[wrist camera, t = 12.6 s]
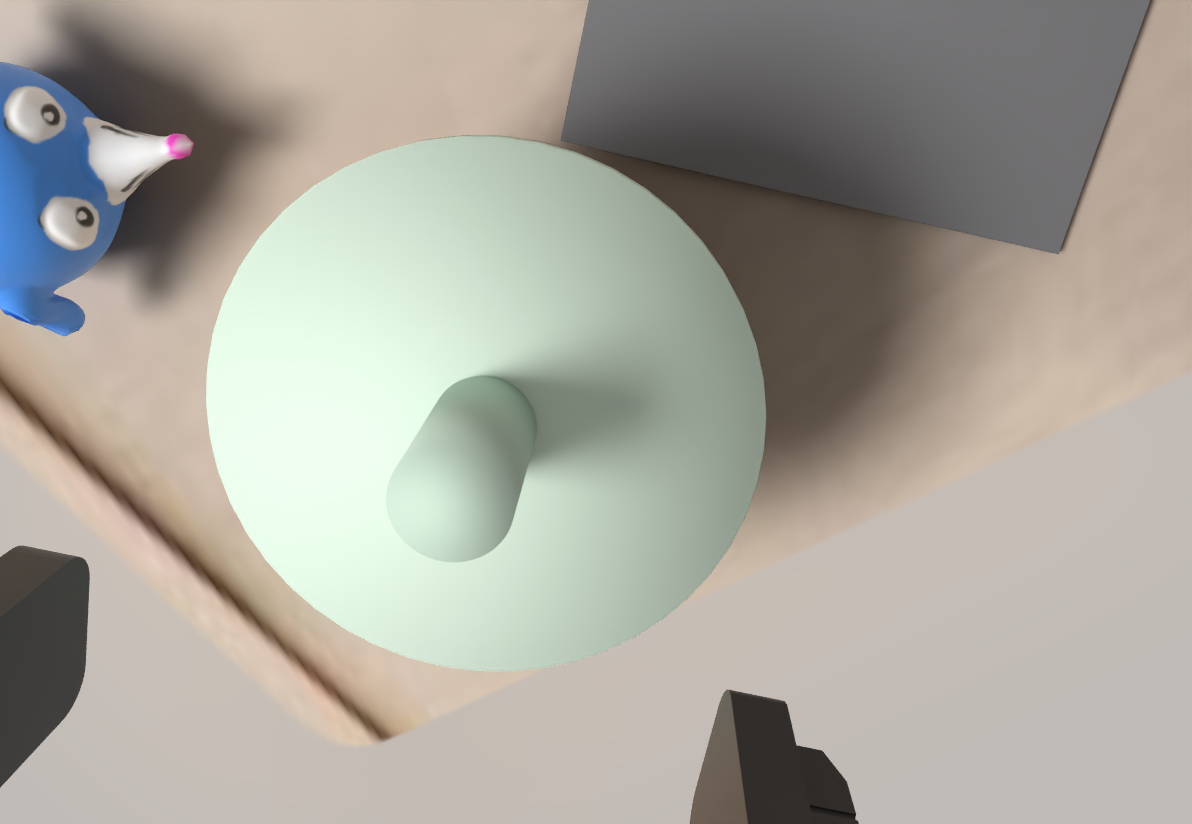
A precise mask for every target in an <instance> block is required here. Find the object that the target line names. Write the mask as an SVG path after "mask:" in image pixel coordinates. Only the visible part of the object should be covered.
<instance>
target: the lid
mask: <svg viewBox="0 0 1192 824" xmlns="http://www.w3.org/2000/svg"><path fill="white" fill-rule="evenodd" d="M206 406H207V415H208V425H209V434H210V440H211V444H212V448H213V452H214V456H215V460H216V464H217V468H218V472H219V474H220V477H221V480H222V482H223V485H224V487H225V490H226V492H227V495H228V498H229V500H230V503H231V505H232V507H233V508H234V510H235V512H236V514H237V516H238V518H239V519H240V521H241V523H242V525H243V527H244V529H245V531H246V532H247V534H248V535H249V537H250V538H251V540H252V541H253V542H254V544H255V545H256V547H257V548H258V550H259V551H260V552H261V554H262V555H263V557H264V558H265V559H266V561H267V562H268V563H269V564H270V565H271V566H272V568H273V569H274V570H275V571H276V572H277V573H278V574H279V575H280V576H281V577H282V579H283V580H284V581H285V582H286V583H287V584H288V585H289V586H290V587H291V588H292V589H293V590H294V591H295V592H297V593H298V594H299V595H300V596H301V597H302V598H303V599H305V600H306V601H307V602H308V603H309V604H310V605H312V606H313V607H314V608H315V609H316V610H318V611H319V612H321V613H322V614H323V615H325V616H326V617H328V618H329V619H331V620H332V621H334V622H335V623H337V624H338V625H340V626H341V627H343V628H344V629H346V630H348V631H350V632H351V633H353V634H355V635H357V636H359V637H361V638H363V639H365V640H367V641H369V642H370V643H372V644H374V645H377V646H379V647H382V648H384V649H387V650H389V651H392V652H395V653H397V654H400V655H402V656H405V657H408V658H412V659H415V660H419V661H423V662H427V663H431V664H434V665H438V666H444V667H451V668H458V669H465V670H472V671H500V672H509V671H521V670H533V669H542V668H547V667H552V666H556V665H561V664H566V663H571V662H575V661H578V660H580V659H584V658H587V657H589V656H593V655H596V654H599V653H602V652H605V651H607V650H609V649H611V648H613V647H615V646H617V645H619V644H621V643H623V642H626V641H628V640H630V639H632V638H634V637H636V636H637V635H639V634H640V633H642V632H644V631H645V630H647V629H648V628H650V627H651V626H653V625H655V624H656V623H658V622H659V621H661V620H662V619H664V618H665V617H666V616H667V615H668V614H670V613H671V612H672V611H673V610H674V609H676V608H677V607H678V606H679V605H680V604H682V603H683V602H684V601H685V600H686V599H688V598H689V597H690V596H691V594H692V593H693V592H694V591H695V590H696V589H697V588H698V587H699V586H700V585H701V584H702V583H703V581H704V580H705V579H706V578H707V577H708V576H709V575H710V574H711V573H712V571H713V570H714V568H715V567H716V565H717V564H718V563H719V561H720V560H721V558H722V557H723V555H724V554H725V553H726V551H727V550H728V548H729V547H730V545H731V543H732V541H733V539H734V538H735V536H736V534H737V532H738V530H739V528H740V526H741V524H742V522H743V520H744V518H745V516H746V514H747V511H748V508H749V505H750V502H751V500H752V497H753V494H754V491H755V488H756V486H757V482H758V477H759V472H760V467H761V463H762V458H763V453H764V443H765V429H766V403H765V389H764V378H763V374H762V369H761V364H760V360H759V355H758V350H757V345H756V342H755V340H754V337H753V334H752V331H751V328H750V326H749V323H748V320H747V317H746V315H745V312H744V309H743V307H742V305H741V303H740V301H739V299H738V298H737V296H736V294H735V292H734V290H733V288H732V286H731V284H730V282H729V280H728V278H727V277H726V275H725V273H724V271H723V269H722V268H721V267H720V265H719V264H718V262H717V261H716V260H715V258H714V257H713V255H712V254H711V252H710V251H709V250H708V248H707V247H706V245H705V244H704V243H703V241H702V240H701V239H700V238H699V237H698V236H697V235H696V233H695V232H694V231H693V230H692V229H691V228H690V227H689V226H688V225H687V224H686V223H685V222H684V221H683V220H682V219H681V217H680V216H679V215H678V214H677V213H676V212H675V211H673V210H672V209H671V208H670V207H668V206H667V205H666V204H665V203H664V202H662V201H661V200H660V199H659V198H657V197H656V196H655V195H654V194H653V193H651V192H650V191H649V190H648V189H646V188H645V187H643V186H642V185H640V184H638V183H637V182H635V181H633V180H632V179H630V178H629V177H627V176H625V175H624V174H622V173H620V172H619V171H617V170H616V169H614V168H612V167H610V166H607V165H605V164H603V163H601V162H598V161H596V160H594V159H592V158H589V157H587V156H585V155H583V154H580V153H578V152H575V151H571V150H568V149H564V148H561V147H558V146H554V145H551V144H547V143H544V142H540V141H533V140H527V139H520V138H514V137H507V136H483V135H462V136H453V137H445V138H437V139H429V140H423V141H419V142H415V143H412V144H408V145H404V146H400V147H397V148H393V149H389V150H385V151H382V152H379V153H377V154H374V155H372V156H370V157H367V158H365V159H363V160H360V161H358V162H355V163H353V164H351V165H348V166H346V167H344V168H343V169H341V170H339V171H338V172H336V173H334V174H333V175H331V176H329V177H328V178H326V179H324V180H323V181H321V182H319V183H318V184H316V185H314V186H313V187H312V188H310V189H309V190H308V191H307V192H306V193H304V194H303V195H302V196H301V197H299V198H298V199H297V200H296V201H295V202H293V203H292V204H291V205H290V206H289V207H287V208H286V209H285V210H284V211H283V212H282V213H281V214H280V215H279V216H278V217H277V219H276V220H275V221H274V222H273V223H272V224H271V225H270V226H269V227H268V228H267V229H266V231H265V232H264V233H263V234H262V235H261V236H260V237H259V239H258V240H257V242H256V243H255V245H254V246H253V247H252V249H251V250H250V252H249V253H248V255H247V256H246V258H245V259H244V261H243V262H242V264H241V265H240V267H239V269H238V271H237V273H236V275H235V277H234V279H233V281H232V283H231V285H230V287H229V289H228V291H227V293H226V295H225V298H224V300H223V303H222V306H221V309H220V312H219V315H218V319H217V322H216V325H215V328H214V331H213V335H212V341H211V347H210V353H209V359H208V365H207V389H206Z"/></svg>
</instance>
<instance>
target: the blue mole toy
mask: <svg viewBox="0 0 1192 824" xmlns="http://www.w3.org/2000/svg"><path fill="white" fill-rule="evenodd" d="M193 145H194V143H193V142H192V141H191V140H190V139H189V138H188V137H187V136H186V135H184V134H175V133H173V134H171V135H169V136H166V137H163V136H155V135H150V134H145V133H140V132H136V131H131V130H127V129H124V128H121V127H119V126H116V125H114V124H111V123H108V122H105V121H102V120H100V119H99V118H98V117H97V116H96V115H94V114H93V113H92V112H91V111H90V110H89V109H88V108H87V107H86V106H85V105H84V104H83V103H82V102H81V101H80V100H79V99H78V98H76V97H75V96H74V95H72V94H71V93H70V92H69V91H68V90H66V89H65V88H64V87H62V86H61V85H59V84H58V83H56V82H54V81H53V80H51V79H49V78H47V77H45V76H43V75H41V74H39V73H37V72H34V71H32V70H29V69H27V68H24V67H20V66H17V65H13V64H9V63H4V62H0V309H1V310H2V311H3V312H4V313H5V314H7V315H10V316H12V317H14V318H16V319H18V320H21V321H23V322H26V323H29V324H32V325H40V326H42V327H45V328H47V329H49V330H51V331H53V332H55V333H57V334H59V335H61V336H67V335H68V334H71V333H73V332H75V331H78V330H79V329H80V328H81V327H82V326H83V324H84V321H85V314H84V312H83V310H82V309H81V308H80V307H79V306H78V305H77V304H76V303H74V302H73V301H71V300H69V299H67V298H64V297H61V296H58V295H56V294H54V293H53V292H54V291H55V290H56V289H57V288H59V287H61V286H63V285H65V284H67V283H69V282H71V281H73V280H75V279H76V278H78V277H80V276H81V275H83V274H84V273H86V272H87V271H88V270H89V269H90V268H92V267H93V266H94V265H95V264H96V263H97V262H98V261H99V260H100V258H101V257H102V256H103V255H104V254H105V252H106V251H107V249H108V248H109V246H110V244H111V243H112V241H113V239H114V237H115V234H116V232H117V229H118V226H119V224H120V221H121V217H122V213H123V209H124V206H125V202H126V199H127V198H128V197H129V196H130V195H131V194H132V193H133V192H134V191H135V190H136V189H137V187H138V186H139V185H140V184H141V182H142V181H143V180H144V179H146V178H147V177H148V176H149V175H151V174H152V173H153V172H155V171H156V170H157V169H159V168H160V167H161V166H163V165H164V164H165V163H167V162H169V161H171V160H173V159H182V158H185V157H187V156H189V155H191V151H192V148H193Z"/></svg>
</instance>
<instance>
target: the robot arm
mask: <svg viewBox="0 0 1192 824" xmlns="http://www.w3.org/2000/svg"><path fill="white" fill-rule="evenodd" d="M89 580H90V578H89V567H88V564H87V562H86V561H85V560H84V559H83V558H81V557H77V556H72V555H66V554H62V553H57V552H52V551H47V550H42V549H36V548H32V547H27V546H17V547H15V548H13V549H11V550H10V551H8V552H7V553H6V554H4V555H3V556H2V557H0V787H1V786H2V785H3V784H4V783H5V782H6V781H7V780H8V779H9V777H10V776H11V775H12V774H13V773H14V772H15V771H16V770H17V769H18V768H19V767H20V765H22V763H23V762H24V761H25V760H26V759H27V758H28V757H29V756H30V755H31V754H32V753H33V752H34V750H35V749H36V748H37V747H38V746H39V745H40V744H41V743H42V742H43V741H44V740H45V739H46V737H47V736H48V735H49V734H50V733H51V732H52V731H53V730H54V729H55V728H56V727H57V726H58V725H59V724H60V722H61V721H62V720H63V719H64V718H65V717H66V715H67V714H68V713H69V711H70V709H71V708H72V706H73V704H74V702H75V700H76V698H77V696H78V693H79V691H80V688H81V685H82V682H83V678H84V673H85V665H86V644H87V623H88V602H89ZM855 816H856V813H855V809H854V805H853V802H852V799H851V795H850V792H849V788H848V785H847V782H846V780H845V779H844V778H843V776H842V775H841V774H840V773H839V771H838V770H837V769H836V768H835V766H834V765H833V764H832V762H831V761H830V760H829V759H828V757H827V756H826V755H825V754H824V752H823V751H821V750H816V749H812V748H807V747H802V746H797V745H796V742H795V738H794V733H793V729H792V724H791V720H790V716H789V711H788V707H787V704H786V703H785V701H781V700H777V699H772V698H767V697H762V696H757V695H752V694H747V693H742V692H736V691H732V690H726V691H725V692H724V694H723V696H722V698H721V701H720V704H719V707H718V711H717V714H716V718H715V722H714V725H713V729H712V732H711V736H710V740H709V744H708V747H707V751H706V754H705V758H704V762H703V765H702V769H701V772H700V776H699V780H698V783H697V787H696V791H695V795H694V799H693V805H692V810H691V818H690V824H859V823H858V821H857V820H855Z"/></svg>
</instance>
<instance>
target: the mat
mask: <svg viewBox="0 0 1192 824" xmlns="http://www.w3.org/2000/svg"><path fill="white" fill-rule="evenodd" d="M1149 2H1150V0H589V3H588V8H587V13H586V18H585V23H584V28H583V33H582V38H581V43H580V48H579V53H578V58H577V63H576V68H575V73H574V78H573V82H572V87H571V92H570V97H569V102H568V107H567V112H566V117H565V122H564V127H563V132H562V137H561V141H564V142H569V143H573V144H577V145H582V146H586V147H591V148H595V149H599V150H604V151H608V152H613V153H617V154H621V155H626V156H630V157H634V158H639V159H643V160H648V161H652V162H656V163H661V164H665V165H669V166H674V167H678V168H683V169H687V170H691V171H696V172H700V173H705V174H709V175H713V176H718V177H722V178H726V179H731V180H735V181H740V182H744V183H748V184H753V185H757V186H762V187H766V188H770V189H775V190H779V191H783V192H788V193H792V194H797V195H801V196H805V197H810V198H814V199H818V200H823V201H827V202H832V203H836V204H840V205H845V206H849V207H854V208H858V209H862V210H867V211H871V212H875V213H880V214H884V215H889V216H893V217H897V218H902V219H906V220H910V221H915V222H919V223H924V224H928V225H932V226H937V227H941V228H946V229H950V230H954V231H959V232H963V233H967V234H972V235H976V236H981V237H985V238H989V239H994V240H998V241H1003V242H1007V243H1011V244H1016V245H1020V246H1024V247H1029V248H1033V249H1038V250H1042V251H1046V252H1051V253H1055V254H1059V251H1060V248H1061V246H1062V243H1063V240H1064V237H1065V235H1066V232H1067V229H1068V226H1069V224H1070V221H1071V218H1072V215H1073V213H1074V210H1075V207H1076V204H1077V201H1078V199H1079V196H1080V193H1081V190H1082V188H1083V185H1084V182H1085V179H1086V177H1087V174H1088V171H1089V168H1090V165H1091V163H1092V160H1093V157H1094V154H1095V152H1096V149H1097V146H1098V143H1099V141H1100V138H1101V135H1102V132H1103V129H1104V127H1105V124H1106V121H1107V118H1108V116H1109V113H1110V110H1111V107H1112V105H1113V102H1114V99H1115V96H1116V94H1117V91H1118V88H1119V85H1120V82H1121V80H1122V77H1123V74H1124V71H1125V69H1126V66H1127V63H1128V60H1129V58H1130V55H1131V52H1132V49H1133V46H1134V44H1135V41H1136V38H1137V35H1138V33H1139V30H1140V27H1141V24H1142V22H1143V19H1144V16H1145V13H1146V11H1147V8H1148V5H1149Z"/></svg>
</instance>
